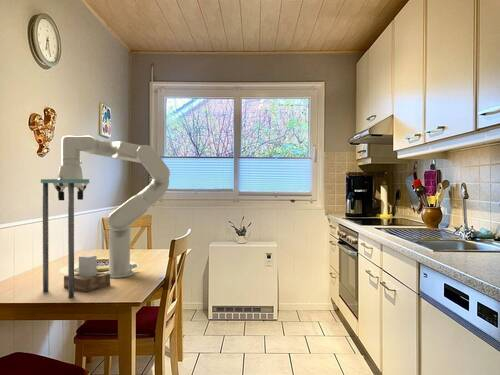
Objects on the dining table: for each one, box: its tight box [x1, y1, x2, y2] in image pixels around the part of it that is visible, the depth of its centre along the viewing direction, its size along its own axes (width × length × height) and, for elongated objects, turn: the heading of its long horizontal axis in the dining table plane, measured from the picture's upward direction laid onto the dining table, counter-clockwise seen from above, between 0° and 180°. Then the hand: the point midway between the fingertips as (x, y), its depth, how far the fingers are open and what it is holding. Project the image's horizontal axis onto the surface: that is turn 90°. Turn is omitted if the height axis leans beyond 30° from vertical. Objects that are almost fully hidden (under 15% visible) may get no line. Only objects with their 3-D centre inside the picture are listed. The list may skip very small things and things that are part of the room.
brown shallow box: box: [63, 271, 111, 293], centre depth 159 cm, size 12×14×5 cm
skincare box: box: [78, 254, 98, 278], centre depth 160 cm, size 6×4×12 cm
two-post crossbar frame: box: [40, 178, 90, 299], centre depth 151 cm, size 8×19×46 cm, turn 61°
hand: (71, 199), depth 173 cm, fingers open, 9 cm apart
